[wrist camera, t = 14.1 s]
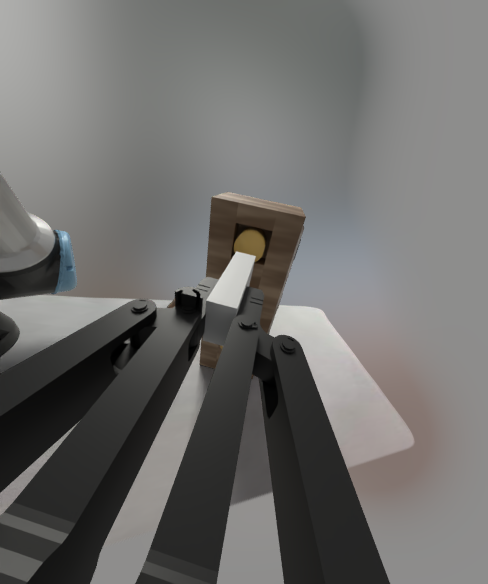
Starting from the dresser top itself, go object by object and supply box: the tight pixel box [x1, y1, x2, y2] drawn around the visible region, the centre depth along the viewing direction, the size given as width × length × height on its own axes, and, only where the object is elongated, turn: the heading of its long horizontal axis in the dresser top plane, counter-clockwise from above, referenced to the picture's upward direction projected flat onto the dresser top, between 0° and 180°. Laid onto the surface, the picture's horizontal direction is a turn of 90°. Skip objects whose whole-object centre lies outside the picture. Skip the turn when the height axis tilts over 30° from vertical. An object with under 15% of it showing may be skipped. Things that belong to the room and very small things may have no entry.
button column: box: [200, 192, 306, 379], centre depth 36 cm, size 8×13×34 cm, turn 79°
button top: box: [234, 226, 266, 262], centre depth 27 cm, size 4×4×4 cm
